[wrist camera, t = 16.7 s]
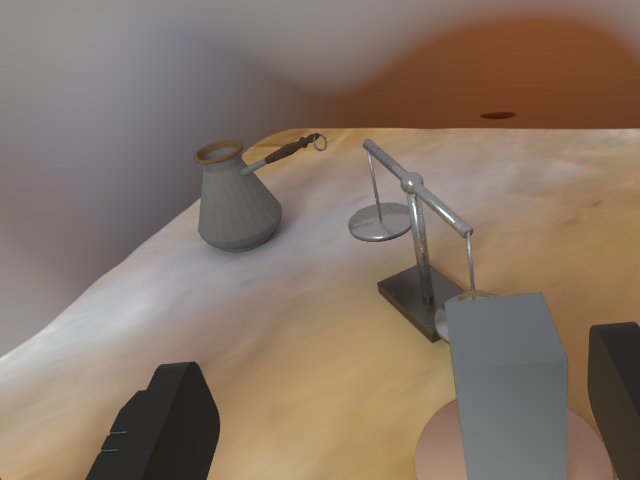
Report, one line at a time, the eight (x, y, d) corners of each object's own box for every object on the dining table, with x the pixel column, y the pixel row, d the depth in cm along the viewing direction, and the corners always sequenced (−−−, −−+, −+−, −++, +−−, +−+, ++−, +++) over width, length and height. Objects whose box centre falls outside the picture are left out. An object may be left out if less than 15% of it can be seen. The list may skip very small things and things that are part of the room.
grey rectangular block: (470, 501, 38) (453, 369, 32) (460, 427, 43) (444, 302, 37) (565, 497, 37) (567, 360, 31) (543, 422, 42) (541, 292, 36)
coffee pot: (188, 255, 77) (147, 153, 69) (237, 212, 85) (205, 116, 77) (324, 275, 66) (295, 156, 58) (366, 223, 74) (344, 113, 66)
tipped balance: (348, 268, 66) (320, 141, 58) (400, 245, 68) (379, 119, 60) (470, 386, 47) (453, 224, 39) (537, 350, 49) (533, 188, 41)
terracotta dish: (383, 447, 44) (382, 439, 43) (518, 374, 47) (518, 365, 47) (495, 603, 33) (494, 593, 33) (659, 493, 37) (661, 483, 36)
